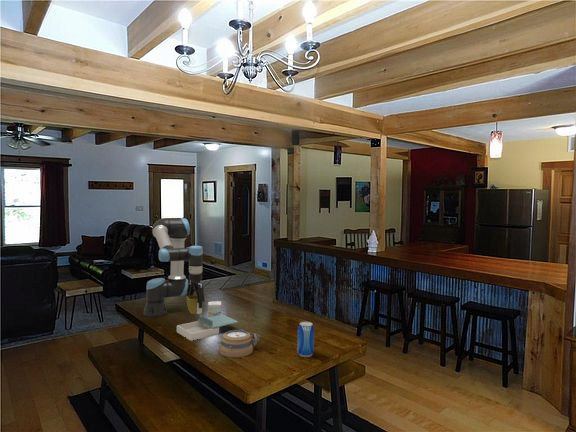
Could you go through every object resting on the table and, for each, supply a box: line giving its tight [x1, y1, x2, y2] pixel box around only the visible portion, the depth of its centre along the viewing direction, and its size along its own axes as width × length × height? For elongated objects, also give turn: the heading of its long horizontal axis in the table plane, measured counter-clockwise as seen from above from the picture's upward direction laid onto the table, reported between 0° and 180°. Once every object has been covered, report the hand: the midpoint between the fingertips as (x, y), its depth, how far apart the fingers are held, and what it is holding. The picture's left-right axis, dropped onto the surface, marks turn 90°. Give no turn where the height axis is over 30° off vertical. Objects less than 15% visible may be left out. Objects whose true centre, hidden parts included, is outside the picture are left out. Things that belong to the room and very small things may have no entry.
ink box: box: [207, 300, 222, 317], centre depth 247 cm, size 9×8×12 cm
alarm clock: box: [217, 329, 261, 358], centre depth 201 cm, size 17×9×23 cm
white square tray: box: [176, 320, 220, 342], centre depth 224 cm, size 18×18×4 cm
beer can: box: [296, 321, 315, 358], centre depth 196 cm, size 8×8×16 cm
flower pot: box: [185, 294, 205, 315], centre depth 222 cm, size 9×9×9 cm
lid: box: [197, 313, 239, 328], centre depth 232 cm, size 18×17×4 cm
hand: (194, 311), depth 222 cm, fingers closed on flower pot, 10 cm apart
